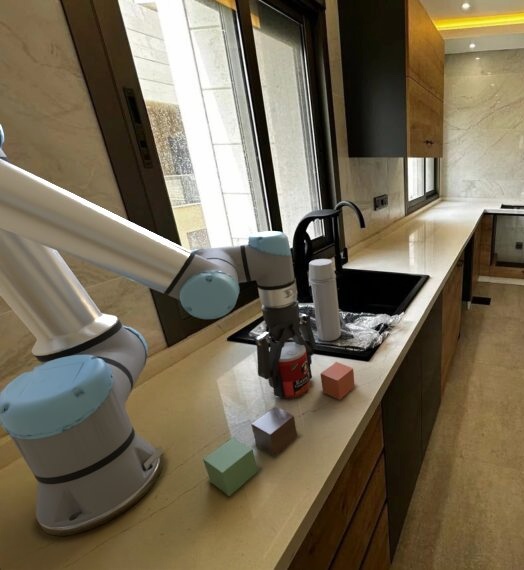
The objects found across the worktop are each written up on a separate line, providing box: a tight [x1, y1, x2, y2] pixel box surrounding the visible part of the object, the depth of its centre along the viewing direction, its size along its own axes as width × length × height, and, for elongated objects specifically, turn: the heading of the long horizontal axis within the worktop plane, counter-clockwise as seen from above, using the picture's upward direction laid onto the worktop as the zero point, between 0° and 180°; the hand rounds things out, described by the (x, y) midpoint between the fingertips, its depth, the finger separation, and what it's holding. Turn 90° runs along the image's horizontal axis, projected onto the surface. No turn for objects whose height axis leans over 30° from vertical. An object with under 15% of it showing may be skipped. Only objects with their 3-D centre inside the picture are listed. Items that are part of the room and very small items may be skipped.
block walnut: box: [250, 405, 298, 457], centre depth 65 cm, size 6×6×6 cm
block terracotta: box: [320, 361, 356, 400], centre depth 80 cm, size 6×6×6 cm
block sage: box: [202, 436, 259, 497], centre depth 57 cm, size 6×6×6 cm
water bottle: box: [308, 258, 342, 342], centre depth 99 cm, size 9×8×25 cm
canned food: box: [278, 341, 311, 399], centre depth 79 cm, size 8×8×11 cm
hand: (294, 385), depth 81 cm, fingers closed on canned food, 8 cm apart
